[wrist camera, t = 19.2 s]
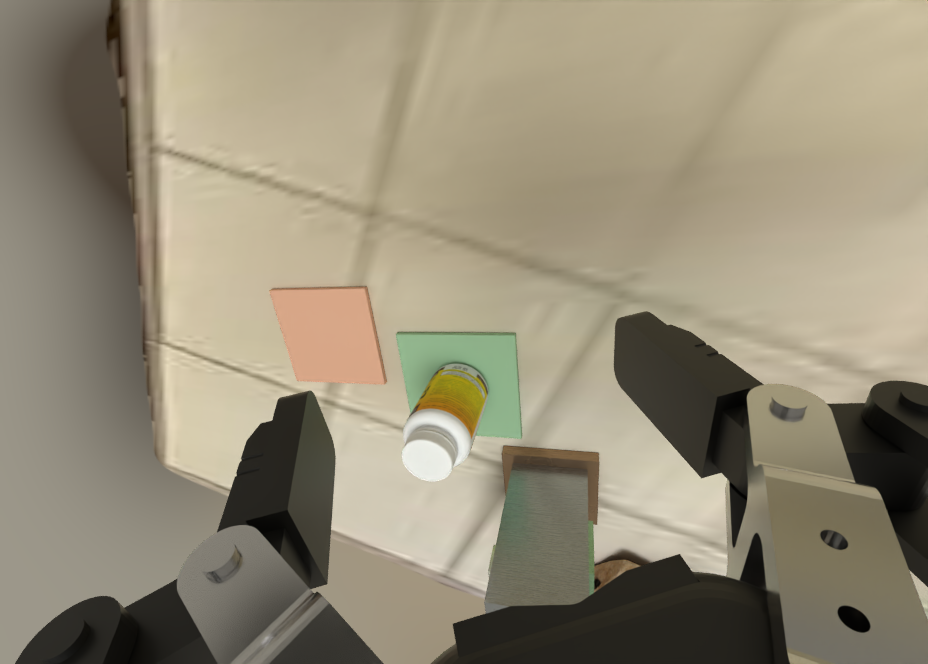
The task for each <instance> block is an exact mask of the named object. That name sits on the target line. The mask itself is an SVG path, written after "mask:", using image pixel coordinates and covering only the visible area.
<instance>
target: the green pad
mask: <svg viewBox="0 0 928 664" xmlns="http://www.w3.org/2000/svg"><path fill="white" fill-rule="evenodd" d="M396 338H397V343H398V348H399V354H400V359H401V364H402V370H403V375H404V380H405V385H406V391H407V396H408V401H409V407H410V412H412V411H413V409H414V407H415V406H416V404H417V402H418V401H419V399H420V397H421V395H422V394H423V392H424V390H425V389H426V387H427V385H428V383H429V382H430V380H431V378H432V377H433V375H434V374H435V372H436V371H437V370H438V369H440V368H441V367H443V366H445V365H448V364H463V365H467V366H469V367H472V368H473V369H475V370H476V371H478V372H479V373H480V374H481V375H482V377H483V378H484V380H485V381H486V384H487V387H488V400H487V403H486V406H485V409H484V412H483V415H482V418H481V421H480V424H479V427H478V430H477V433H476V436H489V437H503V438H517V439H521V438H522V427H521V411H520V395H519V379H518V363H517V347H516V333H441V332H398V333H397V334H396Z"/></svg>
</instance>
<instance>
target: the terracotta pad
mask: <svg viewBox="0 0 928 664" xmlns="http://www.w3.org/2000/svg"><path fill="white" fill-rule="evenodd" d="M269 291H270V295H271V298H272V301H273V304H274V308H275V311H276V314H277V317H278V321H279V324H280V327H281V330H282V334H283V337H284V340H285V343H286V346H287V350H288V353H289V356H290V359H291V363H292V366H293V369H294V372H295V376H296V379H297V381H314V382H338V383H362V384H386V382H387V380H386V376H385V371H384V366H383V361H382V356H381V352H380V347H379V342H378V337H377V333H376V328H375V323H374V318H373V313H372V309H371V304H370V299H369V294H368V290H367V287H331V288H287V289H271V290H269Z"/></svg>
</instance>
